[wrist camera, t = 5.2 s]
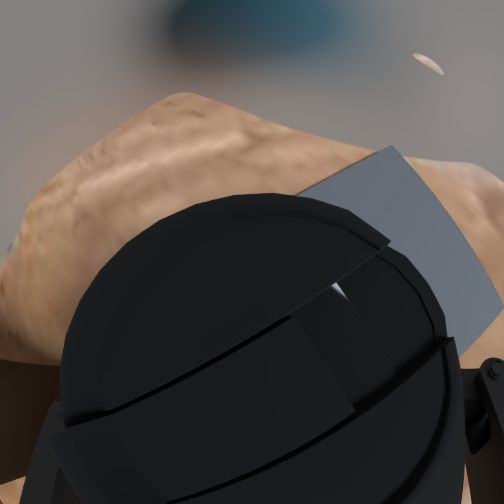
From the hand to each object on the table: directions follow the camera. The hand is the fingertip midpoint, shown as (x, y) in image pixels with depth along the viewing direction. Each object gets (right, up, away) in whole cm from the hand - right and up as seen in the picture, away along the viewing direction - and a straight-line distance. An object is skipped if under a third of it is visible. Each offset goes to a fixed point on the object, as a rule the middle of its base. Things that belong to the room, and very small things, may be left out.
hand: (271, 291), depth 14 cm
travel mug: (+1, -6, +8) cm, 10 cm away
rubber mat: (+12, +1, +9) cm, 15 cm away
